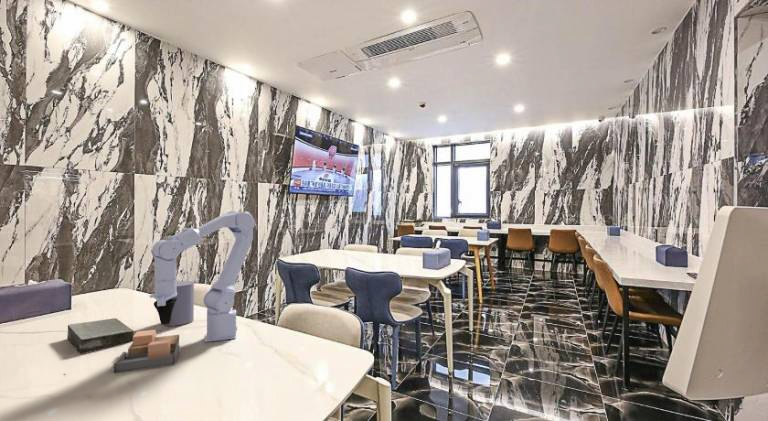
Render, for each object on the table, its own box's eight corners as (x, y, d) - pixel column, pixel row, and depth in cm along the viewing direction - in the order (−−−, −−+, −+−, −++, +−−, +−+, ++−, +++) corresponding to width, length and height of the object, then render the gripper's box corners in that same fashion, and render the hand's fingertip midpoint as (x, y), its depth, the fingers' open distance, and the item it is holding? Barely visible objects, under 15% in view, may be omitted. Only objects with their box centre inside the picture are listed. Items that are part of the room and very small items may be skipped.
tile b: (155, 337, 112) (155, 329, 112) (152, 343, 107) (152, 334, 107) (136, 339, 110) (137, 331, 110) (132, 345, 105) (132, 336, 105)
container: (196, 322, 135) (196, 284, 135) (165, 328, 129) (165, 287, 129) (190, 316, 143) (190, 279, 143) (160, 321, 137) (161, 283, 137)
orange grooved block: (179, 343, 114) (179, 334, 114) (175, 353, 107) (175, 343, 107) (135, 349, 110) (135, 339, 110) (127, 359, 102) (128, 348, 102)
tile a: (170, 339, 103) (168, 342, 101) (170, 356, 103) (168, 360, 101) (150, 341, 101) (148, 345, 99) (150, 359, 101) (147, 362, 99)
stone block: (80, 355, 105) (80, 338, 105) (66, 339, 118) (66, 324, 118) (134, 343, 116) (134, 327, 116) (116, 329, 128) (116, 315, 128)
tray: (179, 352, 107) (179, 345, 107) (174, 364, 99) (175, 355, 99) (123, 360, 102) (123, 351, 102) (113, 372, 94) (113, 363, 94)
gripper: (155, 276, 113) (155, 318, 113) (144, 285, 99) (144, 333, 99) (180, 274, 115) (180, 315, 115) (173, 283, 102) (173, 329, 102)
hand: (165, 323), depth 108 cm, fingers closed
